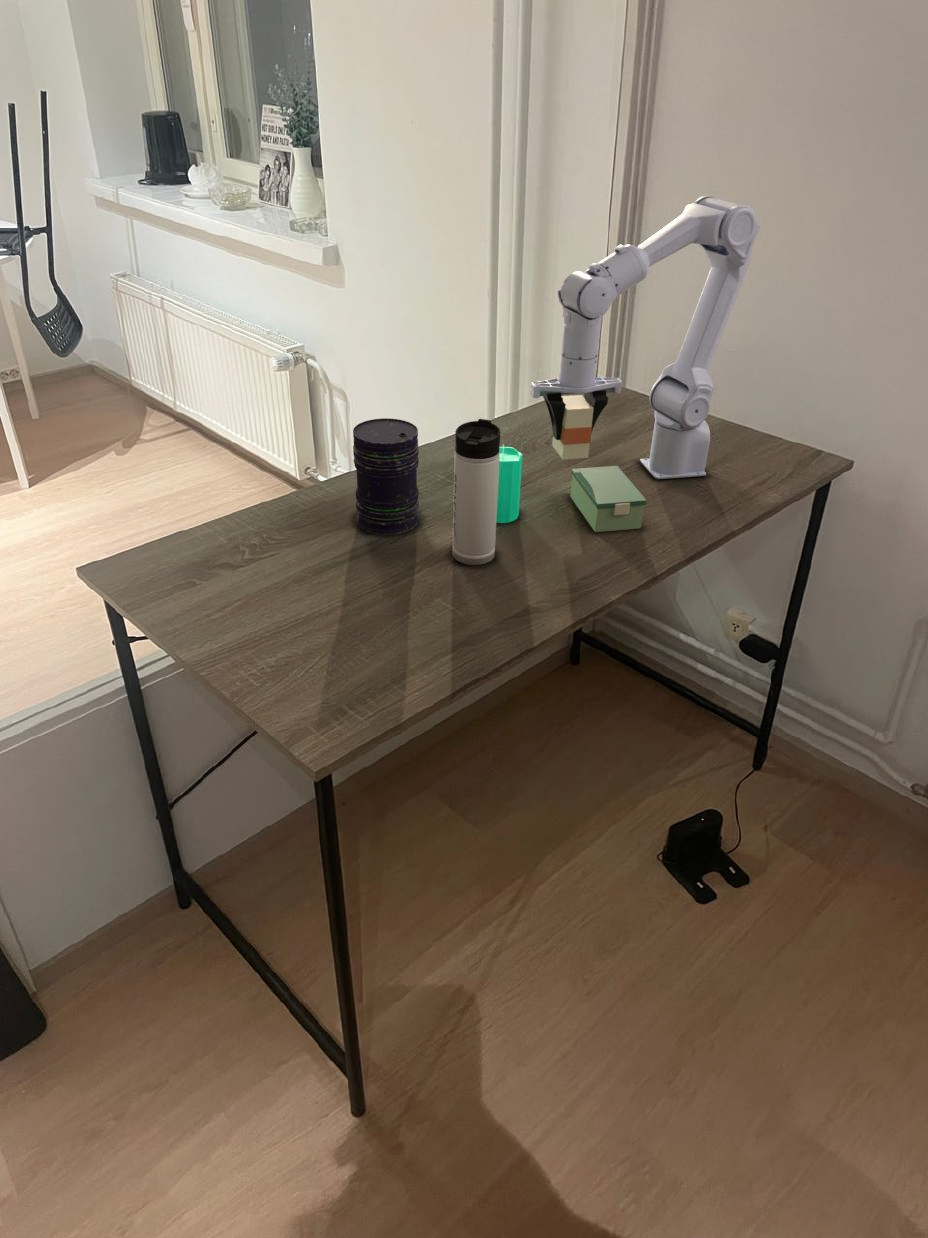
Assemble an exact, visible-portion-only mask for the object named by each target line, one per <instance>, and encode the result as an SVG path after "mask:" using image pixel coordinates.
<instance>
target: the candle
mask: <svg viewBox="0 0 928 1238" xmlns="http://www.w3.org/2000/svg"><path fill="white" fill-rule="evenodd" d="M499 456H500V458H499V478H498V498H497V518H496V524H506V523H507V524H508V523H511V522H515V521H516V520H517V519H518V517H519V515H520V504H521V503H520V502H521V500H520V499H521V486H522V484H521V483H522V469H523V453H521V452H520V451H519V450H518V449H516V448H514V447H512V446H505V444H504V443H503V444H502V446H500V455H499Z"/></svg>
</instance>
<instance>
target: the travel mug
mask: <svg viewBox="0 0 928 1238" xmlns="http://www.w3.org/2000/svg"><path fill="white" fill-rule="evenodd" d="M500 447H501V429H500V428H499V426H498V425H496V424H495V423H493V422H492V420H490V419H486V418H479V419H477V420H472V421H468V422H464V423H462V424H460V425H458V427H457V428H456V429H455V439H454V461H453V463H454V464H453V465H454V466H453V467H454V468H453V508H452V509H453V511H452V513H453V514H452V557H453V559H455V560H456V561H457V562H458V563H461V564H463V565H468V566H481V565H485V564H487V563H490V562H491V561H492V560H493V559H494V558H495V555H496V537H497V534H496V533H497V523H496V518H497V498H498V478H499V458H500V456H499V455H500Z"/></svg>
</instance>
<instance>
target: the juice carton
mask: <svg viewBox="0 0 928 1238" xmlns="http://www.w3.org/2000/svg"><path fill="white" fill-rule="evenodd" d="M561 397H562V398H563V402H564V403H565V404H566V406H565V409H564V414H563V419H562V431H561V437H560V440H556V439H555V438H554V436H553V435H552V443H551V446H552V447H553V448H554V450H555V452H556V453H557V454H558V455H559V457H560V458H561V460H562V461H565V460H579V459H580V460H581V459H589V455H590V446H591V445H590V444H591V441H592V433H591V431H592V432H593V430H592V418H593V409H594V408H593V407H592V406H591V405H590V404H589V403H588V401H587V400H586V399H585V398H584V395H583V394H573V395H561Z"/></svg>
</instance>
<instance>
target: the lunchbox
mask: <svg viewBox="0 0 928 1238" xmlns="http://www.w3.org/2000/svg"><path fill="white" fill-rule="evenodd" d="M570 474H571V475H572V478H571V488H570V498H571V500H572V502H573V503H574V504H575V506H576V508H578V510H579V511H580V513H581V514H582V515H583V517H584V519H585V520H586V521H587V523H588V524H589V525H590V527H591V528H592V530H593V531H594V533H603V532H614V531H625V530H627V531H628V530H639V529H642V524H643V523H642V522H643V515H644V510H645V506H646V505H647V503H648V502H647V500H648V499H646V498H645V497H644V495H643V494H642V492H640V491H639V489H638V488H637V487H636V486H635V485H634V484H633V482H632V481H631V480H630V479H629V478H628V477H627V475H626V474H625V472H624V471H622V469H621V468H620V467H619V466H618V465H610V466H596V467H595V466H594V467H593V466H592V467H581V468H571V472H570Z"/></svg>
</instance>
